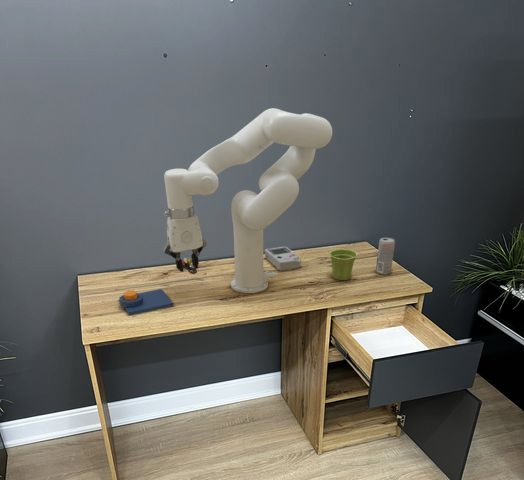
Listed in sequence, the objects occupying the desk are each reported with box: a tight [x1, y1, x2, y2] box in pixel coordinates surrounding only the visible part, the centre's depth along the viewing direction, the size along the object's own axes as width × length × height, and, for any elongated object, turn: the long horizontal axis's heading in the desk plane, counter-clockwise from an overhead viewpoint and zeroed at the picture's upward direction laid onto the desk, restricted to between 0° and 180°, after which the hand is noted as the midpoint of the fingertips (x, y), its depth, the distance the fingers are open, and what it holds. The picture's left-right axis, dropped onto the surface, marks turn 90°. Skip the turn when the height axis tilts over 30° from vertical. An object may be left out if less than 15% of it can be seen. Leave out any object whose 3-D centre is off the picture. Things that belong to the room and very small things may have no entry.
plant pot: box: [328, 248, 358, 281], centre depth 178 cm, size 9×9×9 cm
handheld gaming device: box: [264, 246, 302, 272], centre depth 191 cm, size 9×15×4 cm, turn 22°
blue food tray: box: [118, 288, 174, 316], centre depth 163 cm, size 15×12×3 cm
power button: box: [123, 289, 138, 301], centre depth 160 cm, size 4×4×2 cm
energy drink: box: [375, 237, 396, 276], centre depth 181 cm, size 5×5×12 cm
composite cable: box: [181, 257, 198, 275], centre depth 164 cm, size 10×5×2 cm, turn 22°
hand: (187, 268), depth 164 cm, fingers closed on composite cable, 4 cm apart
